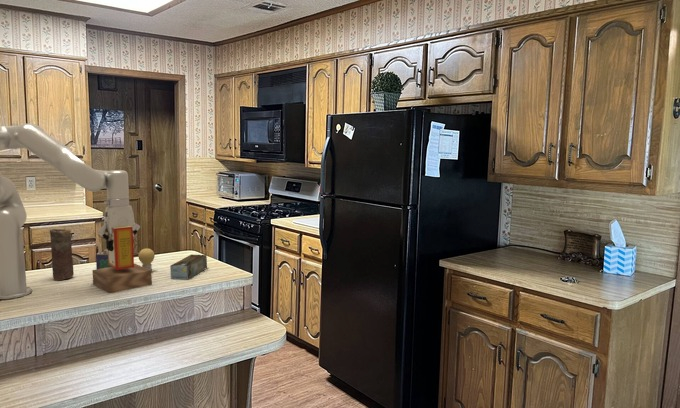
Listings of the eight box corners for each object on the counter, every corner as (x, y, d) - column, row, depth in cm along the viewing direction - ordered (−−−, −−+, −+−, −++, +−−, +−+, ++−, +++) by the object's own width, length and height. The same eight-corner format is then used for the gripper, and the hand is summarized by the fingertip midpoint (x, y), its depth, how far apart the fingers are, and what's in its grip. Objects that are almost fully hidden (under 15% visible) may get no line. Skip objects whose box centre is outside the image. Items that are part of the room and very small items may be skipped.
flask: (120, 274, 208) (118, 248, 206) (116, 275, 205) (115, 250, 203) (98, 273, 208) (97, 248, 207) (94, 275, 205) (93, 250, 204)
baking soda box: (134, 267, 190) (132, 225, 188) (116, 269, 186) (114, 227, 184) (125, 262, 198) (124, 222, 196) (108, 265, 193) (106, 224, 191)
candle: (54, 276, 203) (51, 228, 200) (74, 274, 206) (71, 227, 203) (51, 281, 196) (48, 231, 193) (73, 279, 199) (69, 230, 196)
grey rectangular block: (169, 279, 201) (168, 263, 200) (190, 267, 220) (190, 253, 219) (188, 280, 200) (187, 264, 199) (208, 268, 218) (207, 253, 218)
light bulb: (139, 270, 213) (138, 247, 212) (155, 269, 216) (154, 246, 214) (138, 274, 207) (137, 250, 206) (155, 273, 210) (154, 249, 208)
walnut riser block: (109, 294, 182) (108, 278, 181) (93, 285, 193) (92, 270, 192) (152, 285, 193) (151, 270, 192) (134, 277, 204) (133, 263, 203)
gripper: (100, 206, 180) (102, 254, 182) (145, 201, 193) (146, 246, 195) (90, 204, 185) (92, 251, 187) (135, 200, 198) (136, 244, 200)
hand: (120, 248), depth 191 cm, fingers closed on baking soda box, 7 cm apart
